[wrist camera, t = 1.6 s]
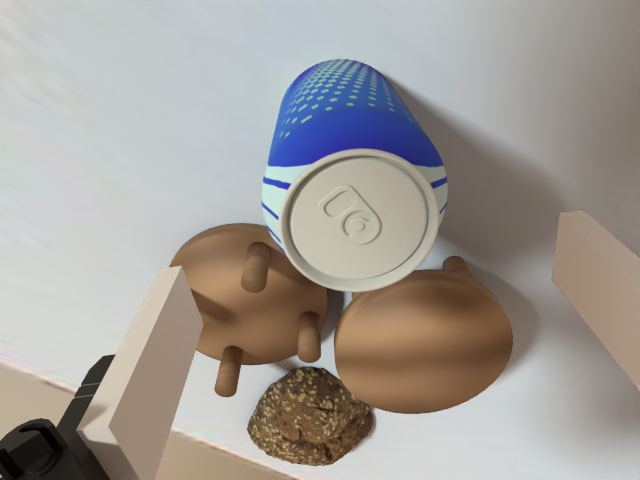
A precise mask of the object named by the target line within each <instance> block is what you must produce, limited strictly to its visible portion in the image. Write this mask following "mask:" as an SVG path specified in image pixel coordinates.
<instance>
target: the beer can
mask: <svg viewBox="0 0 640 480" xmlns="http://www.w3.org/2000/svg"><path fill="white" fill-rule="evenodd" d="M447 197H448V184H447V177H446V172H445V168H444V166H443V163H442V160H441V158H440V156H439V154H438V152H437V150H436V148H435V147H434V145H433V144H432V142H431V141H430V140H429V138H428V137H427V135H426V134H425V132H424V131H423V130H422V128H421V127H420V125H419V124H418V123H417V121H416V120H415V118H414V117H413V115H412V114H411V113H410V111H409V110H408V108H407V107H406V106H405V104H404V103H403V101H402V100H401V98H400V97H399V96H398V94H397V93H396V91H395V90H394V89H393V87H392V86H391V84H390V83H389V82H388V80H387V79H386V78H385V77H384V76H383V75H382V74H381V73H379V72H378V71H377V70H375V69H374V68H372V67H371V66H369V65H367V64H364V63H361V62H358V61H354V60H348V59H334V60H328V61H325V62H321V63H319V64H316V65H314V66H312V67H310V68H309V69H307V70H306V71H304V72H303V73H302V74H300V75H299V76H298V77H297V78H296V79H295V80H294V81H293V83H292V84H291V85H290V87H289V88H288V90H287V91H286V93H285V95H284V98H283V100H282V103H281V106H280V110H279V114H278V119H277V123H276V127H275V131H274V136H273V140H272V144H271V148H270V153H269V157H268V161H267V165H266V170H265V174H264V178H263V184H262V192H261V200H262V211H263V216H264V220H265V223H266V226H267V228H268V230H269V232H270V234H271V236H272V238H273V239H274V241H275V243H276V244H277V245H278V247H279V248H280V249H281V250H282V251H283V253H284V254H285V255H286V256H287V257H288V258H289V260H290V261H291V263H292V264H293V265H294V266H295V267H296V268H297V270H298V271H300V272H301V273H302V274H303V275H304V276H306V277H307V278H308V279H310V280H312V281H313V282H315V283H317V284H319V285H321V286H324V287H327V288H330V289H334V290H338V291H345V292H365V291H372V290H376V289H380V288H384V287H386V286H389V285H392V284H394V283H396V282H398V281H400V280H401V279H403V278H405V277H406V276H408V275H409V274H410V273H412V272H413V271H414V270H415V269H416V268H417V267H418V266H419V265H420V264H421V263H422V262H423V261H424V260H425V258H426V257H427V255H428V254H429V252H430V251H431V249H432V247H433V245H434V242H435V240H436V237H437V234H438V229H439V227H440V224H441V222H442V220H443V217H444V213H445V209H446V205H447Z"/></svg>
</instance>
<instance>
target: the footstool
mask: <svg viewBox="0 0 640 480" xmlns="http://www.w3.org/2000/svg"><path fill="white" fill-rule="evenodd" d="M352 298H353V300H352V301H351V302H350V304H349V305H348V306H347V307H346V308H345V310H344V312H343V313H342V315H341V316H340V318H339V321H338V323H337V326H336V330H335V334H334V352H335V364H336V369H337V372H338V375H339V377H340V379H341V381H342V383H343V384H344V385H345V387H346V388H347V389H348V390H349V391H350V392H351V393H352V394H353V395H354V396H355V397H357V398H358V399H359V400H361V401H363V402H365V403H366V404H368V405H371V406H373V407H375V408H378V409H381V410H385V411H389V412H394V413H403V414H420V413H430V412H436V411H440V410H444V409H448V408H451V407H454V406H457V405H459V404H461V403H464V402H466V401H468V400H470V399H472V398H473V397H475V396H477V395H478V394H480V393H481V392H483V391H484V390H485V389H486V388H488V387H489V386H490V385H491V384H492V383H493V382H494V381H495V380H496V379H497V378H498V377H499V375H500V374H501V373H502V371H503V370H504V368H505V366H506V364H507V363H508V360H509V358H510V355H511V351H512V345H513V335H512V330H511V326H510V324H509V321H508V319H507V317H506V315H505V313H504V312H503V310H502V308H501V306H500V305H499V303H498V301H497V300H496V298H495V297H494V296H493V294H492V293H491V292H490V291H489V290H488V289H487V288H485V287H484V286H483V285H482V284H480V283H479V282H477V281H475V280H473V278H472V276H471V275H470V273H469V271H468V269H467V267H466V265H465V263H464V261H463V259H462V258H460V257H458V256H451V257H449V258H447V259H446V260H445V261H444V262H443V270H415V271H413V272H412V273H410V274H409V275H408V276H406V277H405V278H403V279H401V280H400V281H398V282H396V283H394V284H392V285H389V286H386V287H384V288H380V289H376V290H372V291H365V292H352Z"/></svg>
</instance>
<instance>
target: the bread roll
mask: <svg viewBox="0 0 640 480" xmlns="http://www.w3.org/2000/svg"><path fill="white" fill-rule="evenodd" d="M370 410H371V409H370V408H369V405H368V404H366V403H365V402H363V401H361V400H359V399H358V398H357V397H355V396H354V395H353V394H352V393H351V392H350V391H349V390H348V389H347V388H346V387H345V385H344V384H343V383H342V381H341V380H339V379H337V378H335V377H333V376H332V375H331V374H330V373H329V372H328V371H327V370H325V369H324V368H321V369H320V368H314V367H301V368H298V369H296V370H293V371H291V372H290V373H288V374H287V375H285V376H284V377H282V378H280V379H279V380H278V381H277V382H276V383H273V384H271V385H270V386H269V387H268V389H267V390H266V391H265V393H264V395H263V396H262V397H261V398H260V400H259V403H258V404H257V406H256V410H255V411H254V413H253V415H252V417H251V419H250V420H249V424H248V428H247V430H248V433H249V435H250V437H251V439H252V440H253V442H254V443H255V444H256V445H257V446H258V447H259V449H261V450H263V451H265V452H266V454H267V455H270V456H273V457H274V458H279V460H283V461H285V460H286V461H289V462H291V463H293V464H296V463H297V464H303V465H310V466H311V465H312V466H317V465H322V466H325V465H331V464H333V463H334V462H336V461H338V460H339V459H340V458H342V457H343V456H344V455H346V454H347V452H349V451H350V450H351V449H352V448H353V447H354V446H356V445H357V444H358V443H359V442H361V441H362V439H363V438H364V437H366V436H367V435H368V433H369V432H370V430H371V426H372V424H373V419H372V415H371V413H370Z"/></svg>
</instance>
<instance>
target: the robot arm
mask: <svg viewBox="0 0 640 480" xmlns="http://www.w3.org/2000/svg"><path fill="white" fill-rule="evenodd" d="M551 279H552V281H553V282H554V283H555V284H556V286H557V287H558V288H559V289H560V291H561V292H562V293H563V295H564V296H565V297H566V298H567V300H568V301H569V302H570V303H571V305H572V306H573V307H574V309H575V310H576V311H577V312H578V314H579V315H580V316H581V317H582V319H583V320H584V321H585V323H586V324H587V325H588V326H589V328H590V329H591V330H592V331H593V333H594V334H595V335H596V337H597V338H598V339H599V340H600V342H601V343H602V344H603V345H604V347H605V348H606V349H607V351H608V352H609V353H610V354H611V356H612V357H613V358H614V359H615V361H616V362H617V363H618V364H619V366H620V367H621V368H622V370H623V371H624V372H625V373H626V375H627V376H628V377H629V378H630V380H631V381H632V382H633V384H634V385H635V386H636V387H637V389H638V390H639V391H640V258H639V257H638V256H637V255H635V254H634V253H633V252H632V251H631V250H630V249H628V248H627V247H626V246H625V245H624V244H623V243H622V242H620V241H619V240H618V239H617V238H616V237H615V236H613V235H612V234H611V233H610V232H609V231H608V230H606V229H605V228H604V227H603V226H602V225H601V224H599V223H598V222H597V221H596V220H595V219H594V218H593V217H591V216H590V215H589V214H588V213H587V212H586V211H584V210H576V211H569V212H561V213H560V215H559V223H558V231H557V239H556V246H555V254H554V262H553V270H552V278H551ZM203 325H204V324H203V322H202V319H201V316H200V314H199V311H198V308H197V305H196V303H195V300H194V297H193V295H192V292H191V289H190V287H189V284H188V281H187V279H186V276H185V273H184V271H183V268H182V266H176V267H169V268H162V269H160V271H159V273H158V275H157V277H156V279H155V281H154V283H153V285H152V287H151V288H150V290H149V292H148V294H147V296H146V298H145V300H144V302H143V304H142V306H141V307H140V309H139V311H138V313H137V315H136V317H135V319H134V321H133V323H132V325H131V327H130V328H129V330H128V332H127V334H126V336H125V338H124V340H123V342H122V344H121V346H120V347H119V349H118V351H117V353H116V354H115V355H107V356H103V357H102V358H101V359H100V360H99V361H98V362H97V363H96V364H95V365H94V366H93V367H92V368H91V369H90V370H89V371H88V373H87V375H86V377H85V378H84V380H83V382H82V384H81V387H79V389H78V391H77V392H76V394H75V396H74V397H75V398H74V399H73V400H72V401H71V403H70V405H69V406H68V408H67V410H66V412H65V413H64V415H63V417H62V419H61V420H60V422H59V424H58V426H57V427H55V426H54V424H53V423H52V422H51V421H50V420H48V419H42V418H40V419H35V420H30V421H28V422H26V423H24V424H21V425H20V426H17V427H16V428H15V429H13V430H12V431H11V432H9V433H8V434H7V435H6V436H5V437H4V438H3V439H2V440H1V441H0V474H1V475H2V478H0V480H154V479H155V476H156V473H157V470H158V467H159V464H160V460H161V457H162V454H163V451H164V448H165V445H166V441H167V438H168V435H169V432H170V429H171V426H172V423H173V420H174V416H175V413H176V410H177V407H178V404H179V401H180V398H181V394H182V391H183V388H184V385H185V382H186V379H187V375H188V372H189V369H190V366H191V363H192V360H193V357H194V353H195V350H196V347H197V344H198V341H199V338H200V334H201V331H202V328H203Z"/></svg>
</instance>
